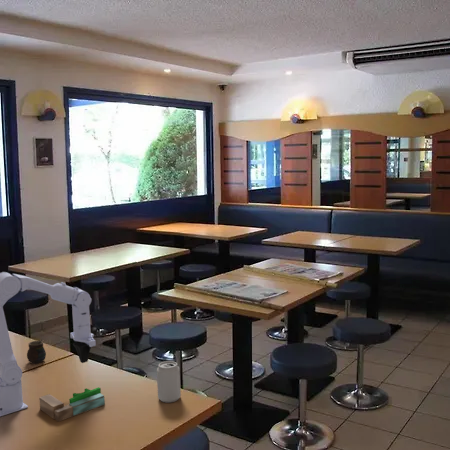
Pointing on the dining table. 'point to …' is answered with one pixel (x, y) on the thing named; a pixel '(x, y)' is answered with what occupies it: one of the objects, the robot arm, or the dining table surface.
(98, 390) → the pipe clamp
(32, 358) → the mate gourd
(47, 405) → the brown wooden block
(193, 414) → the dining table surface
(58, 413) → the rail
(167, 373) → the can
